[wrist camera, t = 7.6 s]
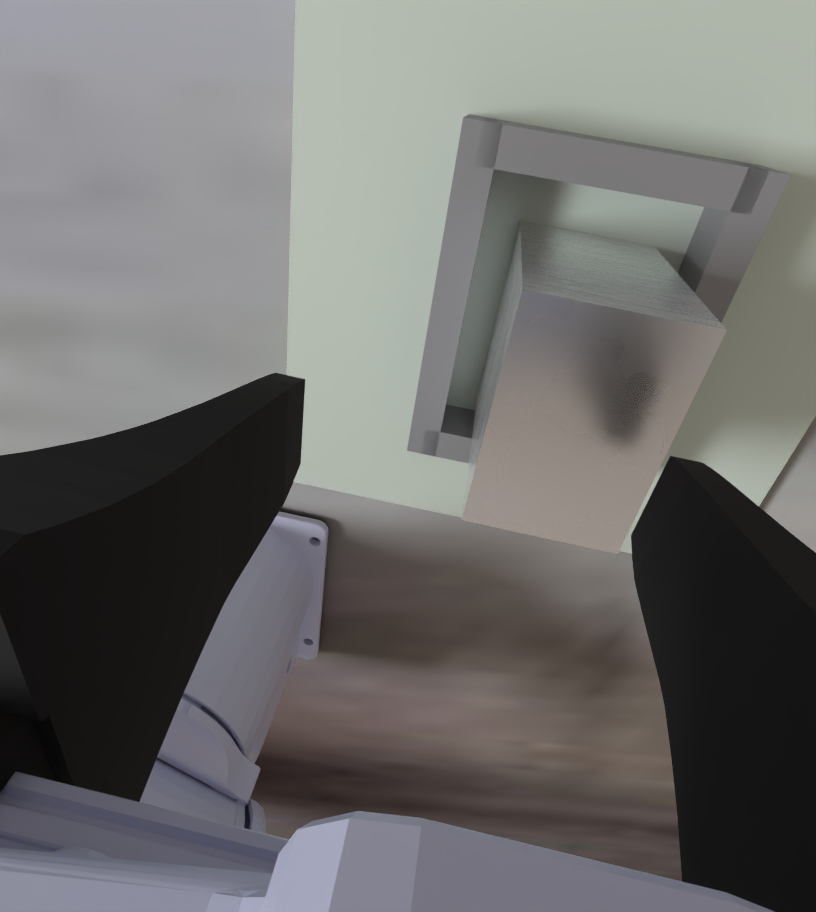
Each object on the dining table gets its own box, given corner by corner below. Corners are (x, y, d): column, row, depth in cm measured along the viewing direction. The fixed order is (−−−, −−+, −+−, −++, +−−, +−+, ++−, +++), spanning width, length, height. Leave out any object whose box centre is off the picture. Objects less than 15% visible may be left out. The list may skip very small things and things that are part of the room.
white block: (653, 246, 17) (726, 330, 11) (588, 419, 20) (617, 554, 14) (520, 220, 17) (522, 289, 11) (477, 396, 20) (461, 520, 15)
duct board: (714, 563, 23) (733, 609, 21) (288, 473, 24) (266, 509, 22) (1054, 11, 13) (1154, -4, 11) (304, -107, 14) (268, -140, 12)
